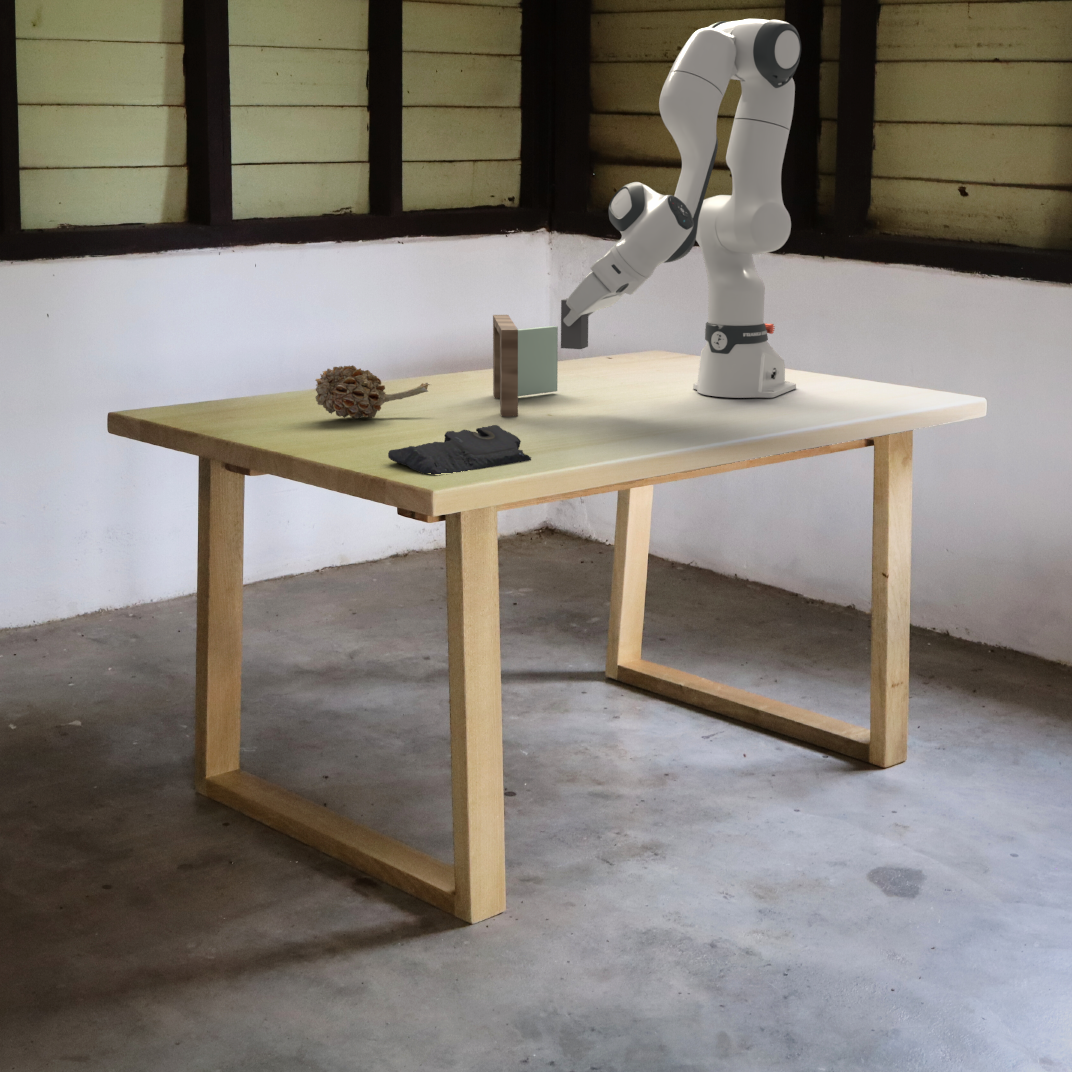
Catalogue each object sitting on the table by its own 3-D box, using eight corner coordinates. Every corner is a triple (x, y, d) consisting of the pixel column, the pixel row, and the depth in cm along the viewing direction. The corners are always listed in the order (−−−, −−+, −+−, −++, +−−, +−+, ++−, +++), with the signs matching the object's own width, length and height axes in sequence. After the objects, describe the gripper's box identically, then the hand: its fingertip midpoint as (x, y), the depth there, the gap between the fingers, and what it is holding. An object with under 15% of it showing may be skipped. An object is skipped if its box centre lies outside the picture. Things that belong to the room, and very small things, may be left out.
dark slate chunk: (373, 464, 240) (373, 435, 239) (481, 447, 254) (481, 419, 253) (432, 480, 229) (431, 450, 227) (541, 461, 243) (542, 432, 241)
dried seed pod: (325, 426, 269) (323, 371, 266) (307, 418, 277) (305, 364, 275) (438, 417, 279) (438, 363, 276) (418, 409, 287) (417, 356, 284)
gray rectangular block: (568, 345, 288) (568, 298, 286) (587, 346, 286) (588, 298, 284) (560, 348, 284) (561, 299, 282) (580, 349, 283) (581, 300, 281)
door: (507, 397, 297) (507, 331, 293) (498, 396, 299) (498, 330, 295) (557, 391, 305) (557, 326, 301) (548, 389, 307) (548, 325, 304)
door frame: (493, 395, 303) (492, 314, 299) (508, 394, 303) (508, 314, 299) (501, 416, 279) (501, 329, 275) (517, 416, 279) (517, 329, 275)
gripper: (628, 254, 288) (579, 304, 294) (592, 262, 270) (541, 314, 275) (650, 279, 288) (600, 328, 293) (615, 288, 269) (564, 340, 275)
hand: (571, 321), depth 284 cm, fingers closed on gray rectangular block, 4 cm apart
